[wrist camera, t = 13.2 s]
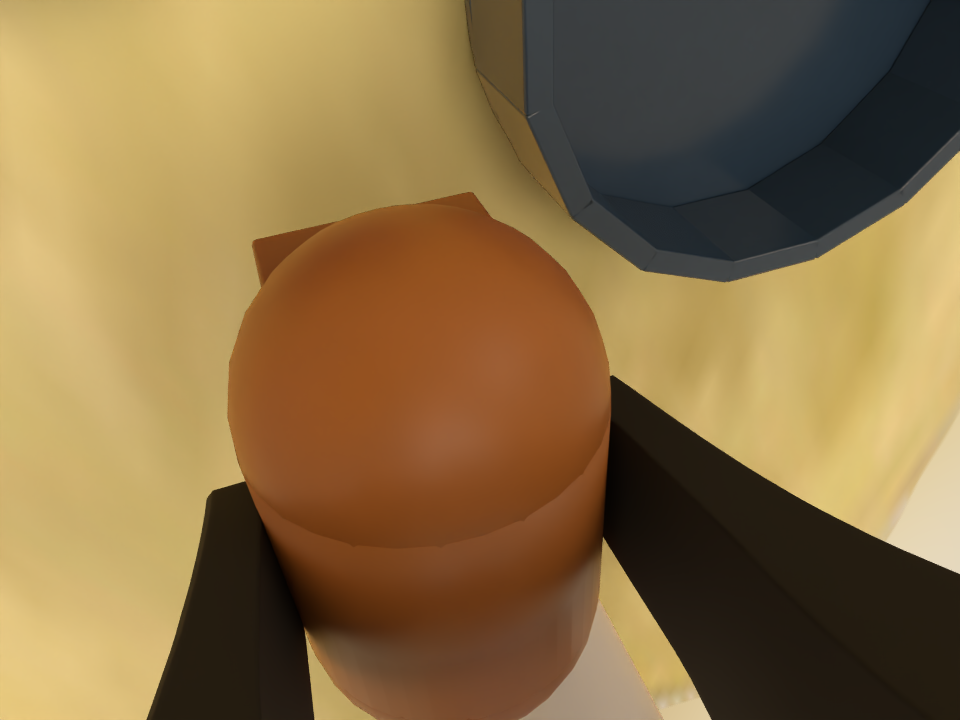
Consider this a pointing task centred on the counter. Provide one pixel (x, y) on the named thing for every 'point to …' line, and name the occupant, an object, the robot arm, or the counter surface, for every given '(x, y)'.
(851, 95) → the pot
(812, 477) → the counter surface
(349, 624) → the orange capsule
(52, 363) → the counter surface
